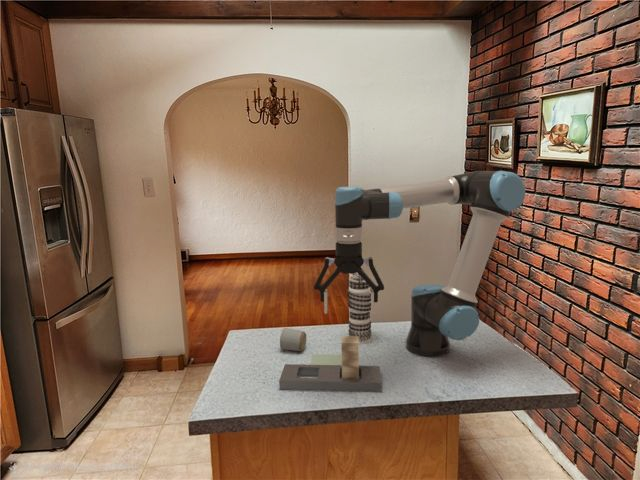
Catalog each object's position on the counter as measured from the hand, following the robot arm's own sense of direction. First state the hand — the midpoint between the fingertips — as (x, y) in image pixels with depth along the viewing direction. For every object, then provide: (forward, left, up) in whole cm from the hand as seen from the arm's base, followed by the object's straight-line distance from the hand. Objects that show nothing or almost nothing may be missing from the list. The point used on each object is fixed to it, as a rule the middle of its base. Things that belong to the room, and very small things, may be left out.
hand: (349, 312), depth 122 cm
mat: (+8, -12, -23) cm, 27 cm away
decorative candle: (-3, -32, -23) cm, 39 cm away
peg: (0, 0, -23) cm, 23 cm away
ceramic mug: (+21, -24, -23) cm, 39 cm away
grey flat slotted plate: (+6, 0, -23) cm, 23 cm away
